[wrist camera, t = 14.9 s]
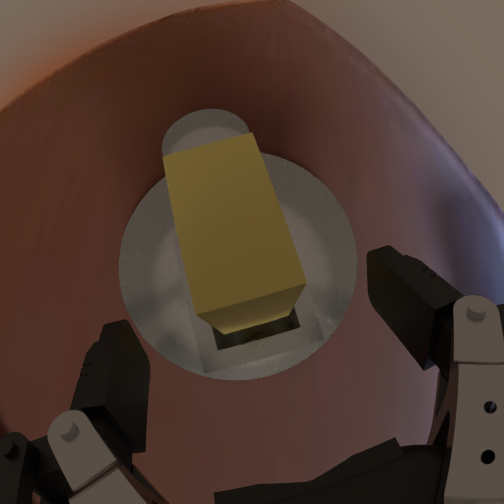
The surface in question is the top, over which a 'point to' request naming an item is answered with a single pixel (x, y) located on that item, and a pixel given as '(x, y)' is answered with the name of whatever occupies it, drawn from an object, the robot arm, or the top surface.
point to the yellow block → (232, 235)
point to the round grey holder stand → (176, 285)
